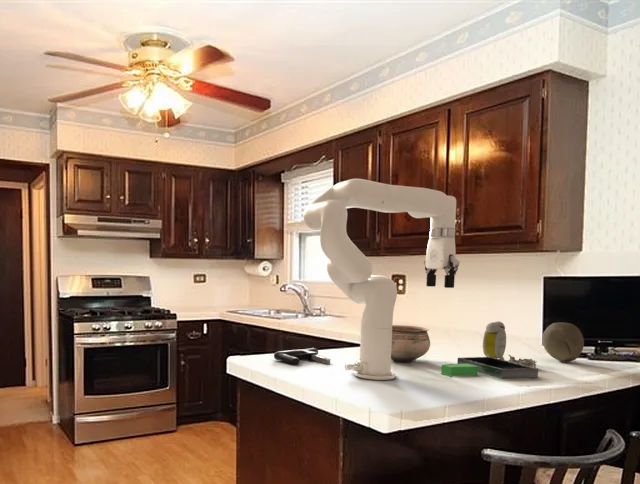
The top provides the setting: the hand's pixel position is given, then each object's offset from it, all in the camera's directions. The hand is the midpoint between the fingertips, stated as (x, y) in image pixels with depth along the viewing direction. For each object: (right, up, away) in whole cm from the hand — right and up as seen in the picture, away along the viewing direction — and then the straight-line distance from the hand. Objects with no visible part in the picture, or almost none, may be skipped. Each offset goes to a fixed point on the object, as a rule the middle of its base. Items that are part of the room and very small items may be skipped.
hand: (439, 287), depth 176 cm
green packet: (+6, -29, -2) cm, 29 cm away
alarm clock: (+30, -28, +25) cm, 48 cm away
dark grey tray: (+20, -29, +3) cm, 35 cm away
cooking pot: (-5, -27, +23) cm, 36 cm away
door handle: (-42, -26, +17) cm, 52 cm away
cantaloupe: (+58, -28, +30) cm, 71 cm away
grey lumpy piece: (+34, -29, +13) cm, 46 cm away
